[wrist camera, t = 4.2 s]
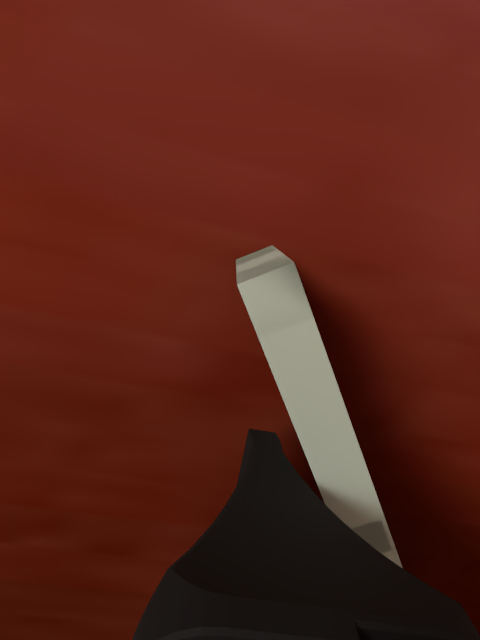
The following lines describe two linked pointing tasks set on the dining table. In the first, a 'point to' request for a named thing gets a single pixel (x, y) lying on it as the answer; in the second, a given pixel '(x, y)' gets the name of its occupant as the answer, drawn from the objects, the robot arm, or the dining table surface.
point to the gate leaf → (311, 393)
